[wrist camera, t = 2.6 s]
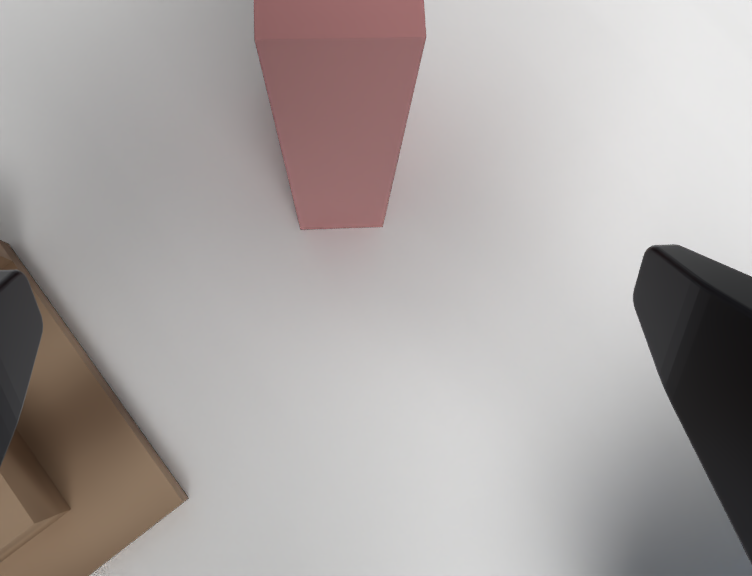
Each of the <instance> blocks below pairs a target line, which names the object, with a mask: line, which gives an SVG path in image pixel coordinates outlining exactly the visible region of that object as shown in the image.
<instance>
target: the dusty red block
mask: <svg viewBox="0 0 752 576" xmlns="http://www.w3.org/2000/svg"><path fill="white" fill-rule="evenodd" d="M254 39H255V44H256V48H257V52H258V56H259V60H260V64H261V68H262V73H263V77H264V81H265V85H266V89H267V93H268V97H269V101H270V106H271V110H272V114H273V118H274V122H275V126H276V130H277V134H278V139H279V143H280V147H281V151H282V155H283V159H284V163H285V167H286V171H287V176H288V180H289V184H290V188H291V192H292V196H293V200H294V204H295V209H296V213H297V217H298V221H299V225H300V229H301V230H302V229H332V228H363V227H383V223H384V218H385V214H386V210H387V205H388V201H389V197H390V192H391V188H392V183H393V179H394V175H395V170H396V166H397V162H398V157H399V153H400V149H401V144H402V140H403V136H404V131H405V127H406V123H407V118H408V114H409V109H410V105H411V101H412V96H413V92H414V88H415V83H416V79H417V75H418V70H419V66H420V62H421V57H422V53H423V49H424V44H425V40H426V27H425V12H424V0H254Z"/></svg>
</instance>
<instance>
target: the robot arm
mask: <svg viewBox="0 0 752 576" xmlns="http://www.w3.org/2000/svg"><path fill="white" fill-rule="evenodd" d="M633 302H634V307H635V310H636V313H637V316H638V319H639V321H640V324H641V327H642V330H643V332H644V335H645V338H646V341H647V344H648V346H649V349H650V352H651V355H652V357H653V360H654V363H655V366H656V369H657V371H658V374H659V377H660V379H661V382H662V384H663V387H664V389H665V391H666V393H667V396H668V398H669V400H670V402H671V404H672V406H673V408H674V410H675V412H676V414H677V416H678V418H679V420H680V422H681V424H682V426H683V428H684V430H685V432H686V434H687V436H688V438H689V440H690V442H691V444H692V446H693V448H694V450H695V452H696V454H697V456H698V458H699V460H700V462H701V464H702V466H703V468H704V470H705V472H706V474H707V476H708V478H709V480H710V482H711V484H712V486H713V488H714V490H715V492H716V494H717V496H718V498H719V500H720V502H721V504H722V506H723V508H724V510H725V512H726V514H727V516H728V518H729V520H730V522H731V524H732V526H733V528H734V530H735V532H736V534H737V536H738V538H739V540H740V542H741V544H742V546H743V548H744V550H745V552H746V554H747V556H748V558H749V560H750V562H751V564H752V277H751V276H749V275H747V274H744V273H742V272H740V271H737V270H735V269H733V268H731V267H728V266H726V265H724V264H721V263H719V262H717V261H714V260H712V259H710V258H707V257H705V256H703V255H701V254H698V253H696V252H694V251H691V250H689V249H687V248H684V247H682V246H680V245H674V244H672V245H653V246H651V247H649V248H648V249H647V250H646V252H645V254H644V256H643V260H642V263H641V267H640V270H639V274H638V277H637V281H636V285H635V288H634V293H633ZM42 333H43V320H42V316H41V313H40V310H39V307H38V305H37V302H36V299H35V297H34V294H33V291H32V289H31V286H30V283H29V281H28V279H27V277H26V275H25V274H24V273H23V272H21V271H19V270H0V467H1V464H2V462H3V459H4V457H5V454H6V452H7V449H8V447H9V444H10V442H11V439H12V437H13V434H14V432H15V429H16V426H17V424H18V421H19V417H20V414H21V411H22V408H23V404H24V400H25V397H26V393H27V389H28V385H29V382H30V378H31V374H32V370H33V367H34V363H35V359H36V356H37V352H38V348H39V344H40V341H41V337H42Z"/></svg>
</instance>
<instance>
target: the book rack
mask: <svg viewBox="0 0 752 576" xmlns="http://www.w3.org/2000/svg"><path fill="white" fill-rule="evenodd" d="M0 270H19V271H21V272H23V273H24V274H25V275H26V277H27V279H28V281H29V283H30V286H31V289H32V291H33V294H34V297H35V299H36V302H37V305H38V307H39V310H40V313H41V316H42V320H43V333H42V337H41V341H40V344H39V348H38V352H37V356H36V359H35V363H34V367H33V370H32V374H31V378H30V382H29V385H28V389H27V393H26V397H25V400H24V404H23V408H22V411H21V414H20V417H19V421H18V424H17V426H16V429H15V432H14V434H13V437H12V439H11V442H10V444H9V447H8V449H7V452H6V454H5V457H4V459H3V462H2V464H1V467H0V576H89V575H90V574H92V573H93V572H94V571H95V570H97V569H98V568H99V567H101V566H102V565H103V564H104V563H106V562H107V561H108V560H110V559H111V558H112V557H114V556H115V555H116V554H117V553H119V552H120V551H121V550H123V549H124V548H125V547H126V546H128V545H129V544H130V543H132V542H133V541H134V540H136V539H137V538H138V537H139V536H141V535H142V534H143V533H145V532H146V531H147V530H148V529H150V528H151V527H152V526H154V525H155V524H156V523H158V522H159V521H160V520H161V519H163V518H164V517H165V516H167V515H168V514H169V513H170V512H172V511H173V510H174V509H176V508H177V507H178V506H180V505H181V504H182V503H183V502H185V501H186V500H187V499H189V498H188V497H187V495H186V494H185V493H184V491H183V490H182V488H181V487H180V486H179V484H178V483H177V481H176V480H175V478H174V477H173V476H172V474H171V473H170V471H169V470H168V469H167V467H166V466H165V464H164V463H163V461H162V460H161V459H160V457H159V456H158V454H157V453H156V452H155V450H154V449H153V447H152V446H151V445H150V443H149V442H148V440H147V439H146V437H145V436H144V435H143V433H142V432H141V430H140V429H139V428H138V426H137V425H136V423H135V422H134V421H133V419H132V418H131V416H130V415H129V413H128V412H127V411H126V409H125V408H124V406H123V405H122V404H121V402H120V401H119V399H118V398H117V396H116V395H115V394H114V392H113V391H112V389H111V388H110V387H109V385H108V384H107V382H106V381H105V380H104V378H103V377H102V375H101V374H100V372H99V371H98V370H97V368H96V367H95V365H94V364H93V363H92V361H91V360H90V358H89V357H88V356H87V354H86V353H85V351H84V350H83V348H82V347H81V346H80V344H79V343H78V341H77V340H76V339H75V337H74V336H73V334H72V333H71V332H70V330H69V329H68V327H67V326H66V324H65V323H64V322H63V320H62V319H61V317H60V316H59V315H58V313H57V312H56V310H55V309H54V307H53V306H52V305H51V303H50V302H49V300H48V299H47V298H46V296H45V295H44V293H43V292H42V291H41V289H40V288H39V286H38V285H37V283H36V282H35V281H34V279H33V278H32V276H31V275H30V274H29V272H28V271H27V269H26V268H25V267H24V265H23V264H22V262H21V261H20V259H19V258H18V257H17V255H16V254H15V252H14V251H13V250H12V248H11V247H10V245H9V244H7V243H5V242H3V241H1V240H0Z"/></svg>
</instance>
